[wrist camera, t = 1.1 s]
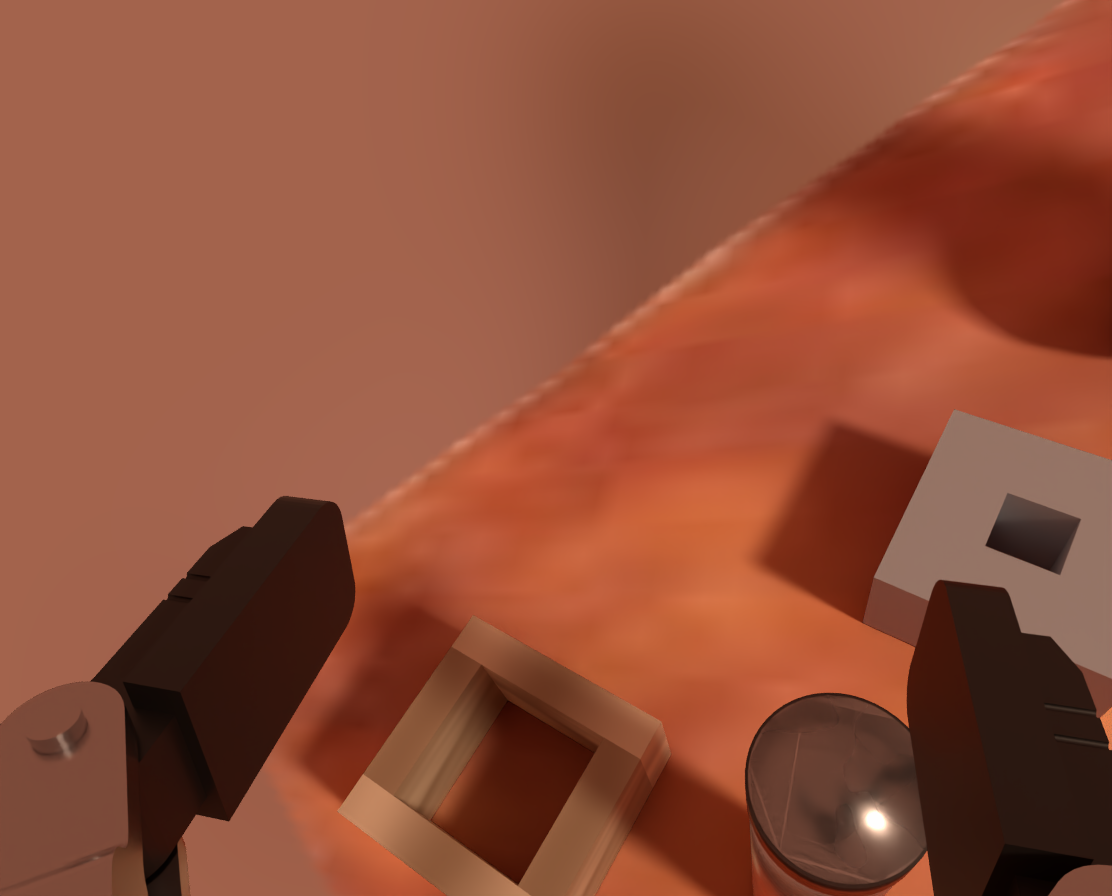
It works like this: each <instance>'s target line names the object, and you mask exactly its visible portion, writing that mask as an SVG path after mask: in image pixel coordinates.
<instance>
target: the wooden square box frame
mask: <svg viewBox="0 0 1112 896" xmlns="http://www.w3.org/2000/svg"><path fill="white" fill-rule="evenodd" d="M507 701H510V702H512V703H513V704H515V705H517V706H518V707H520V708H521V709H523V710H525V711H526V712H528V713H530V714H531V715H533V716H535V717H536V718H538V719H540V720H541V721H543V722H544V723H546V724H548V725H549V726H551V727H553V728H554V729H556V730H558V731H559V732H561V733H563V734H564V735H566V736H568V737H569V738H571V739H572V740H574V741H576V742H577V743H579V744H581V745H582V746H584V747H586V748H587V749H589V750H591V751H592V752H594V753H595V754H594V755H593V757H592V759H591V760H590V762H589V764H588V766H587V767H586V769H585V771H584V773H583V774H582V776H581V778H580V779H579V781H578V783H577V785H576V786H575V788H574V790H573V792H572V793H571V795H570V797H569V798H568V800H567V802H566V804H565V805H564V807H563V809H562V810H561V812H560V814H559V816H558V817H557V819H556V821H555V823H554V824H553V826H552V828H551V829H550V831H549V833H548V835H547V836H546V838H545V840H544V842H543V843H542V845H541V847H540V848H539V850H538V852H537V854H536V855H535V857H534V859H533V861H532V862H531V864H530V866H529V867H528V869H527V871H526V873H525V874H524V876H523V878H522V879H521V881H520V883H519V884H517V883H516V882H515V881H513V880H512V879H510V878H509V877H508V876H506V875H505V874H504V873H502V872H501V871H499V870H498V869H497V868H495V867H494V866H492V865H491V864H490V863H488V862H487V861H486V860H484V859H483V858H481V857H480V856H479V855H477V854H476V853H474V852H473V851H472V850H470V849H469V848H468V847H466V846H465V845H463V844H462V843H461V842H459V841H458V840H457V839H455V838H454V837H452V836H451V835H450V834H448V833H447V832H445V831H444V830H443V829H441V828H440V827H439V826H437V825H436V824H434V823H433V822H432V821H430V820H431V819H432V817H433V816H434V814H435V813H436V811H437V809H438V808H439V806H440V805H441V803H442V802H443V800H444V799H445V797H446V795H447V794H448V792H449V791H450V789H451V788H452V786H453V785H454V783H455V781H456V780H457V778H458V777H459V775H460V774H461V772H462V771H463V769H464V767H465V766H466V764H467V763H468V761H469V760H470V758H471V757H472V755H473V753H474V752H475V750H476V749H477V747H478V746H479V744H480V743H481V741H482V739H483V738H484V736H485V735H486V733H487V732H488V730H489V729H490V727H491V725H492V724H493V722H494V721H495V719H496V718H497V716H498V715H499V713H500V711H501V710H502V708H503V707H504V705H505V704H506V702H507ZM670 756H671V751H670V748H669V745H668V742H667V738H666V735H665V732H664V729H663V726H662V722H661V721H660V720H658V719H656V718H654V717H652V716H651V715H649V714H647V713H645V712H644V711H642V710H640V709H638V708H637V707H635V706H633V705H631V704H629V703H628V702H626V701H624V700H622V699H621V698H619V697H617V696H615V695H614V694H612V693H610V692H608V691H606V690H605V689H603V688H601V687H599V686H598V685H596V684H594V683H592V682H591V681H589V680H587V679H585V678H583V677H582V676H580V675H578V674H576V673H575V672H573V671H571V670H569V669H568V668H566V667H564V666H562V665H561V664H559V663H557V662H555V661H553V660H552V659H550V658H548V657H546V656H545V655H543V654H541V653H539V652H538V651H536V650H534V649H532V648H530V647H529V646H527V645H525V644H523V643H522V642H520V641H518V640H516V639H515V638H513V637H511V636H509V635H507V634H506V633H504V632H502V631H500V630H499V629H497V628H495V627H493V626H492V625H490V624H488V623H486V622H484V621H483V620H481V619H479V618H477V617H476V616H474V615H473V616H472V617H471V619H470V620H469V622H468V623H467V625H466V626H465V628H464V629H463V630H462V632H461V633H460V635H459V636H458V638H457V639H456V641H455V642H454V643H453V645H452V646H451V648H450V649H449V651H448V652H447V654H446V655H445V656H444V658H443V659H442V661H441V662H440V664H439V665H438V667H437V668H436V669H435V671H434V672H433V674H432V675H431V677H430V678H429V680H428V681H427V682H426V684H425V685H424V687H423V688H422V690H421V691H420V693H419V694H418V695H417V697H416V698H415V700H414V701H413V703H412V704H411V706H410V707H409V708H408V710H407V711H406V713H405V714H404V716H403V717H402V719H401V720H400V721H399V723H398V724H397V726H396V727H395V729H394V730H393V732H392V733H391V734H390V736H389V737H388V739H387V740H386V742H385V743H384V745H383V746H382V747H381V749H380V750H379V752H378V753H377V755H376V756H375V758H374V759H373V760H372V762H371V763H370V765H369V766H368V768H367V769H366V771H365V772H364V773H363V775H362V776H361V778H360V779H359V781H358V782H357V784H356V785H355V786H354V788H353V789H352V791H351V792H350V794H349V795H348V797H347V798H346V799H345V801H344V802H343V804H342V805H341V807H340V808H339V810H338V811H337V812H339V813H340V814H341V815H343V816H344V817H345V818H346V819H348V820H349V821H350V822H352V823H353V824H354V825H356V826H357V827H358V828H359V829H361V830H362V831H363V832H365V833H366V834H367V835H369V836H370V837H371V838H373V839H374V840H375V841H376V842H378V843H379V844H380V845H382V846H383V847H384V848H386V849H387V850H388V851H390V852H391V853H392V854H393V855H395V856H396V857H397V858H399V859H400V860H401V861H403V862H404V863H405V864H406V865H408V866H409V867H410V868H412V869H413V870H414V871H416V872H417V873H418V874H420V875H421V876H422V877H423V878H425V879H426V880H427V881H429V882H430V883H431V884H433V885H434V886H435V887H437V888H438V889H439V890H440V891H442V892H443V893H444V894H446V895H447V896H595V895H596V893H597V891H598V889H599V887H600V885H601V883H602V882H603V880H604V878H605V876H606V874H607V872H608V870H609V869H610V867H611V865H612V863H613V861H614V859H615V857H616V856H617V854H618V852H619V850H620V848H621V846H622V845H623V843H624V841H625V839H626V837H627V835H628V833H629V832H630V830H631V828H632V826H633V824H634V822H635V820H636V819H637V817H638V815H639V813H640V811H641V809H642V807H643V806H644V804H645V802H646V800H647V798H648V796H649V795H650V793H651V791H652V789H653V787H654V785H655V783H656V782H657V780H658V778H659V776H660V774H661V772H662V770H663V769H664V767H665V765H666V763H667V761H668V759H669V757H670Z"/></svg>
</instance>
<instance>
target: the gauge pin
mask: <svg viewBox="0 0 1112 896" xmlns="http://www.w3.org/2000/svg"><path fill="white" fill-rule="evenodd" d="M745 789H746V802H747V810H748V814H749V818H750V838H751V859H752V881H753V896H885V895H886V893H887V892H888V891H889V890H890V889H891V888H892V886H893V885H895V884H896V883H897V882H899V881H900V880H901V879H903V878H904V877H905V876H906V875H907V874H908V873H909V872H910V871H911V869H912V868H913V867H914V866H915V865H916V864H917V863H918V862H919V861H920V859H921V858H922V857H923V856H924V854H925V853H926V851H927V844H926V837H925V831H924V824H923V817H922V810H921V804H920V797H919V790H918V783H917V776H916V770H915V763H914V756H913V749H912V743H911V736H910V729H909V728H908V727H907V726H906V725H905V724H904V723H903V722H902V721H900V720H899V719H898V718H897V717H896V716H894V715H893V714H891V713H890V712H889V711H887V710H886V709H884V708H882V707H880V706H879V705H877V704H875V703H872V702H870V701H868V700H865V699H862V698H859V697H856V696H852V695H847V694H841V693H819V694H812V695H807V696H804V697H801V698H798V699H795V700H793V701H791V702H789V703H787V704H785V705H783V706H782V707H780V708H779V709H778V710H776V711H775V712H774V713H773V714H772V715H771V716H769V717H768V718H767V719H766V721H765V722H764V723H763V724H762V726H761V727H760V728H759V730H758V732H757V733H756V735H755V737H754V739H753V741H752V744H751V746H750V748H749V752H748V756H747V760H746V768H745Z"/></svg>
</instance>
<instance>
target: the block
mask: <svg viewBox="0 0 1112 896" xmlns="http://www.w3.org/2000/svg"><path fill="white" fill-rule="evenodd" d="M986 546H987V547H986ZM989 547H990V548H989ZM991 548H992V549H991ZM994 549H995V550H994ZM996 550H998V551H996ZM999 551H1000V552H999ZM1002 552H1003V553H1002ZM1004 553H1005V554H1004ZM1007 554H1008V555H1007ZM1009 555H1011V556H1009ZM1012 556H1013V557H1012ZM1015 557H1016V558H1015ZM1017 558H1018V559H1017ZM1020 559H1021V560H1020ZM1022 560H1023V561H1022ZM1025 561H1026V562H1025ZM1027 562H1029V563H1027ZM1030 563H1031V564H1030ZM1033 564H1034V565H1033ZM1035 565H1036V566H1035ZM1038 566H1039V567H1038ZM1040 567H1042V568H1040ZM1043 568H1044V569H1043ZM1045 569H1047V570H1045ZM1048 570H1049V571H1048ZM938 580H948V581H956V582H964V583H972V584H980V585H988V586H996V587H1003V588H1005V589H1006V590H1007V592H1008V593H1009V596H1010V598H1011V601H1012V605H1013V608H1014V611H1015V614H1016V617H1017V620H1018V623H1019V627H1020V630H1021V633H1028V634H1036V635H1043V636H1050V637H1051V638H1052V639H1053V640H1054V641H1055V642H1056V643H1057V644H1058V645H1059V647H1060V648H1061V649H1062V650H1063V651H1064V652H1065V653H1066V654H1067V656H1068V657H1069V658H1070V659H1071V660H1072V661H1073V662H1074V663H1075V664H1076V666H1077V667H1078V668H1079V669H1080V670H1081V671H1082V673H1083V675H1084V678H1085V681H1086V683H1087V686H1088V688H1089V691H1090V694H1091V696H1092V699H1093V701H1094V704H1095V707H1096V709H1097V711H1096V717H1097V718H1100V717H1101V716H1102V715H1104V714H1105V713H1106V712H1107V711H1108V710H1109V709H1110V708H1111V707H1112V460H1109V459H1106V458H1103V457H1100V456H1097V455H1094V454H1091V453H1088V452H1084V451H1081V450H1078V449H1075V448H1072V447H1069V446H1066V445H1063V444H1060V443H1057V442H1054V441H1050V440H1047V439H1044V438H1041V437H1038V436H1035V435H1032V434H1029V433H1026V432H1023V431H1020V430H1017V429H1013V428H1010V427H1007V426H1004V425H1001V424H998V423H995V422H992V421H989V420H986V419H983V418H980V417H976V416H973V415H970V414H967V413H964V412H961V411H958V410H955V409H954V411H953V413H952V415H951V417H950V419H949V421H948V423H947V425H946V427H945V430H944V432H943V434H942V436H941V438H940V440H939V442H938V444H937V446H936V448H935V450H934V453H933V455H932V457H931V459H930V461H929V463H928V465H927V467H926V469H925V471H924V473H923V476H922V478H921V480H920V482H919V484H918V486H917V488H916V490H915V492H914V494H913V496H912V499H911V501H910V503H909V505H908V507H907V509H906V511H905V513H904V515H903V517H902V519H901V521H900V524H899V526H898V528H897V530H896V532H895V534H894V536H893V538H892V540H891V542H890V544H889V547H888V549H887V551H886V553H885V555H884V557H883V559H882V561H881V563H880V565H879V567H878V570H877V572H876V574H875V576H874V578H873V582H872V586H871V591H870V595H869V599H868V603H867V607H866V611H865V615H864V619H863V623H864V624H866V625H869V626H871V627H873V628H875V629H877V630H880V631H882V632H884V633H886V634H889V635H891V636H893V637H895V638H897V639H900V640H902V641H904V642H906V643H908V644H911V645H913V646H915V647H916V644H917V641H918V637H919V634H920V630H921V627H922V623H923V620H924V617H925V613H926V610H927V606H928V603H929V599H930V596H931V593H932V590H933V587H934V585H935V583H936V582H937V581H938Z"/></svg>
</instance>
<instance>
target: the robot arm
mask: <svg viewBox="0 0 1112 896" xmlns="http://www.w3.org/2000/svg"><path fill="white" fill-rule="evenodd" d="M354 601H355V581H354V576H353V571H352V565H351V560H350V555H349V550H348V545H347V540H346V535H345V530H344V525H343V520H342V515H341V511H340V509H339V507H338V506H337V504H335V503H334V502H330V501H320V500H313V499H305V498H297V497H289V496H283V497H280V498H279V499H277V500H276V501H275V502H274V503H273V504H272V505H271V507H270V508H269V509H268V510H267V511H266V513H265V514H264V515H263V516H262V517H261V519H260V520H259V521H258V522H257V523H256V524H255V526H254V527H253V528H252V527H244V526H243V527H241V528H240V529H238V530H237V531H235V532H233V533H232V534H230V535H228V536H227V537H225V538H224V539H222V540H220V541H219V542H217V543H216V544H214V545H212V546H211V547H210V548H209V549H208V550H207V551H206V552H205V553H204V554H203V555H202V557H201V558H200V559H199V560H198V561H197V562H196V563H195V564H194V566H193V567H192V568H191V569H190V570H189V571H188V572H187V577H186V579H184V578H183V579H181V580H180V581H179V583H178V584H177V585H176V586H175V587H174V588H173V589H172V591H171V592H170V593H169V594H168V599H167V600H163V601H162V602H161V603H160V604H159V605H158V606H157V607H156V609H155V610H154V611H153V612H152V613H151V614H150V615H149V616H148V617H147V619H146V620H145V621H144V622H143V623H142V624H141V625H140V626H139V628H138V629H137V630H136V631H135V632H134V633H133V634H132V635H131V637H130V638H129V639H128V640H127V641H126V642H125V643H124V645H123V646H122V647H121V648H120V649H119V650H118V651H117V652H116V654H115V655H114V656H113V657H112V658H111V659H110V660H109V661H108V663H107V664H106V665H105V666H104V667H103V668H102V669H101V670H100V672H99V673H98V674H97V675H96V676H95V677H94V678H93V679H92V680H91V681H90V682H76V683H70V684H66V685H62V686H58V687H55V688H53V689H50V690H47V691H45V692H43V693H41V694H39V695H37V696H35V697H33V698H32V699H30V700H28V701H27V702H25V703H24V704H22V705H21V706H20V707H18V708H17V709H16V710H14V711H13V712H12V713H11V714H10V715H9V716H8V717H7V718H6V719H5V720H4V721H3V722H2V723H1V724H0V896H190V886H189V875H188V864H187V854H186V847H185V842H184V840H183V838H182V835H183V834H184V832H185V830H186V829H187V827H188V826H189V824H190V823H191V821H192V820H193V818H194V817H195V815H202V816H206V817H211V818H216V819H220V820H225V821H230V819H231V817H232V816H233V814H234V812H235V811H236V809H237V807H238V806H239V804H240V802H241V801H242V799H243V797H244V796H245V794H246V793H247V791H248V789H249V787H250V786H251V784H252V783H253V781H254V779H255V777H256V776H257V774H258V773H259V771H260V769H261V768H262V766H263V764H264V763H265V761H266V759H267V758H268V756H269V754H270V753H271V751H272V749H273V748H274V746H275V744H276V743H277V741H278V739H279V738H280V736H281V734H282V733H283V731H284V730H285V728H286V726H287V725H288V723H289V721H290V720H291V718H292V716H293V715H294V713H295V711H296V710H297V708H298V706H299V705H300V703H301V701H302V700H303V698H304V696H305V695H306V693H307V691H308V690H309V688H310V686H311V685H312V683H313V681H314V680H315V678H316V676H317V675H318V673H319V671H320V670H321V668H322V667H323V665H324V663H325V662H326V660H327V658H328V657H329V655H330V653H331V652H332V650H333V648H334V647H335V645H336V643H337V642H338V640H339V638H340V637H341V635H342V633H343V632H344V630H345V628H346V626H347V625H348V622H349V620H350V617H351V614H352V611H353V607H354ZM1096 711H1097V709H1096V707H1095V704H1094V701H1093V699H1092V696H1091V694H1090V691H1089V688H1088V686H1087V683H1086V681H1085V678H1084V675H1083V673H1082V671H1081V670H1080V669H1079V668H1078V667H1077V666H1076V664H1075V663H1074V662H1073V661H1072V660H1071V659H1070V658H1069V657H1068V656H1067V654H1066V653H1065V652H1064V651H1063V650H1062V649H1061V648H1060V647H1059V645H1058V644H1057V643H1056V642H1055V641H1054V640H1053V639H1052V638H1051V637H1050V636H1043V635H1036V634H1028V633H1021V630H1020V627H1019V623H1018V620H1017V617H1016V614H1015V611H1014V608H1013V605H1012V601H1011V598H1010V596H1009V593H1008V592H1007V590H1006V589H1005V588H1003V587H996V586H988V585H980V584H972V583H964V582H956V581H948V580H938V581H937V582H936V583H935V585H934V587H933V590H932V593H931V596H930V599H929V603H928V606H927V610H926V613H925V617H924V620H923V623H922V627H921V630H920V634H919V637H918V641H917V644H916V648H915V651H914V655H913V658H912V662H911V665H910V670H909V676H908V684H907V715H908V722H909V729H910V736H911V743H912V749H913V756H914V763H915V770H916V776H917V783H918V790H919V797H920V804H921V810H922V817H923V824H924V831H925V837H926V844H927V851H928V858H929V865H930V871H931V878H932V885H933V892H934V896H1112V750H1109V748H1108V744H1109V741H1108V738H1107V736H1106V733H1105V730H1104V728H1103V725H1102V722H1101V720H1100V718H1097V717H1096Z"/></svg>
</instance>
